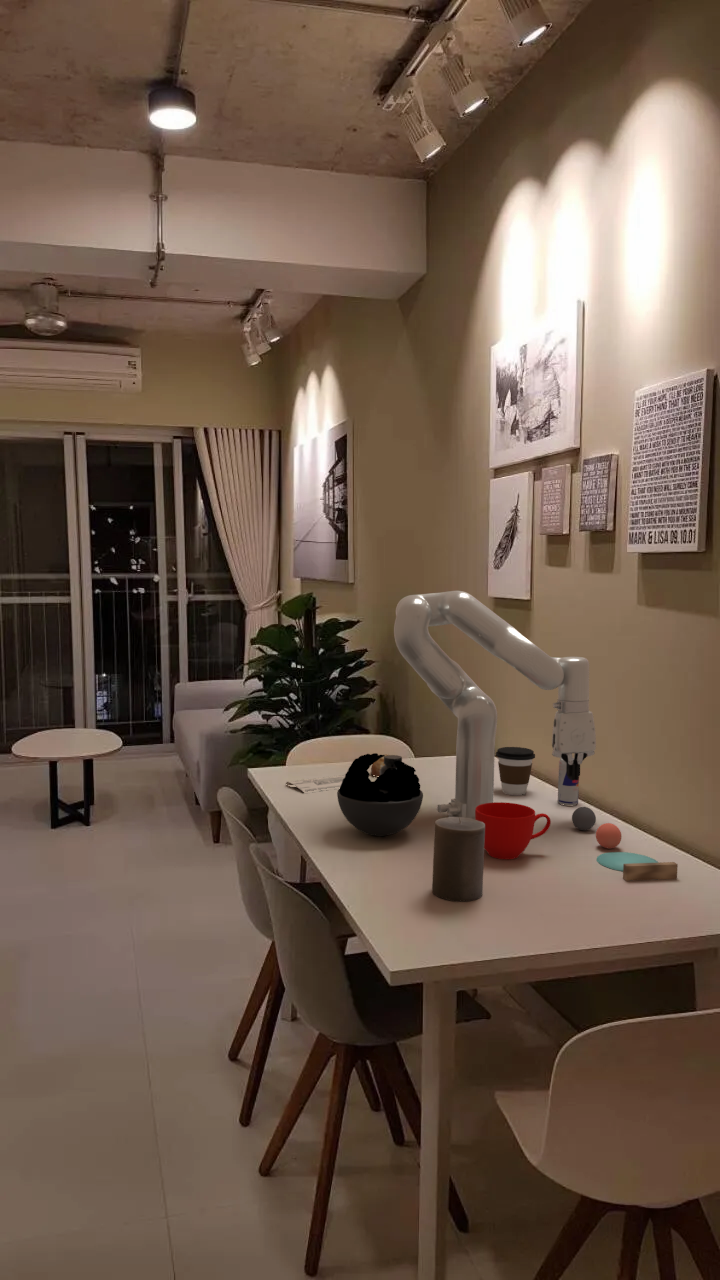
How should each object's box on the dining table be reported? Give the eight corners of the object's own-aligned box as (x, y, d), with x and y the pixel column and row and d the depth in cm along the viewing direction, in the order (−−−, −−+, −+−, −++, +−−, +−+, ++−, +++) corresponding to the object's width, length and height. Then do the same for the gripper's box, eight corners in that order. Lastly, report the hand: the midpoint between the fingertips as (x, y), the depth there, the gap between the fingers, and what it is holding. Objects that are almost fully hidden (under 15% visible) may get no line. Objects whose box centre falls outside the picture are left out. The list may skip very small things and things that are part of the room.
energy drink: (578, 806, 239) (580, 762, 238) (557, 805, 241) (559, 760, 240) (577, 801, 245) (579, 757, 244) (557, 800, 246) (559, 756, 245)
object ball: (606, 853, 201) (607, 828, 200) (590, 845, 206) (591, 821, 206) (626, 850, 203) (627, 825, 203) (609, 843, 208) (610, 819, 208)
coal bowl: (329, 823, 220) (330, 747, 218) (409, 820, 224) (411, 745, 223) (345, 849, 201) (346, 765, 199) (432, 845, 205) (434, 762, 203)
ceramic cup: (560, 862, 194) (561, 816, 193) (484, 865, 191) (485, 819, 190) (538, 844, 207) (540, 801, 206) (466, 846, 204) (468, 802, 203)
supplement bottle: (375, 798, 244) (376, 754, 243) (398, 796, 247) (399, 753, 246) (385, 805, 238) (386, 760, 237) (409, 802, 241) (410, 758, 240)
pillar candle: (447, 904, 169) (450, 825, 167) (423, 887, 178) (426, 812, 176) (492, 898, 173) (495, 821, 171) (466, 881, 181) (469, 808, 180)
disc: (624, 875, 186) (624, 874, 186) (584, 856, 198) (584, 855, 198) (673, 868, 191) (673, 867, 191) (631, 850, 203) (631, 849, 203)
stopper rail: (626, 880, 183) (626, 866, 183) (622, 878, 185) (623, 863, 184) (676, 878, 185) (677, 864, 185) (673, 876, 186) (673, 862, 186)
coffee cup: (537, 798, 248) (538, 754, 247) (497, 797, 248) (498, 754, 247) (530, 788, 259) (532, 746, 258) (492, 787, 259) (493, 746, 258)
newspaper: (347, 778, 271) (348, 770, 270) (369, 791, 261) (370, 782, 260) (279, 786, 258) (280, 777, 258) (300, 800, 248) (300, 791, 248)
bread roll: (379, 782, 279) (368, 758, 278) (409, 769, 277) (398, 745, 277) (375, 790, 269) (364, 765, 269) (406, 777, 267) (395, 752, 267)
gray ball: (581, 834, 215) (582, 811, 214) (566, 827, 220) (567, 805, 219) (600, 831, 217) (601, 808, 217) (585, 825, 222) (586, 803, 222)
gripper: (550, 710, 221) (550, 784, 222) (608, 707, 223) (607, 781, 224) (539, 705, 228) (539, 777, 230) (595, 703, 230) (595, 774, 232)
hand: (573, 779), depth 227 cm, fingers closed
